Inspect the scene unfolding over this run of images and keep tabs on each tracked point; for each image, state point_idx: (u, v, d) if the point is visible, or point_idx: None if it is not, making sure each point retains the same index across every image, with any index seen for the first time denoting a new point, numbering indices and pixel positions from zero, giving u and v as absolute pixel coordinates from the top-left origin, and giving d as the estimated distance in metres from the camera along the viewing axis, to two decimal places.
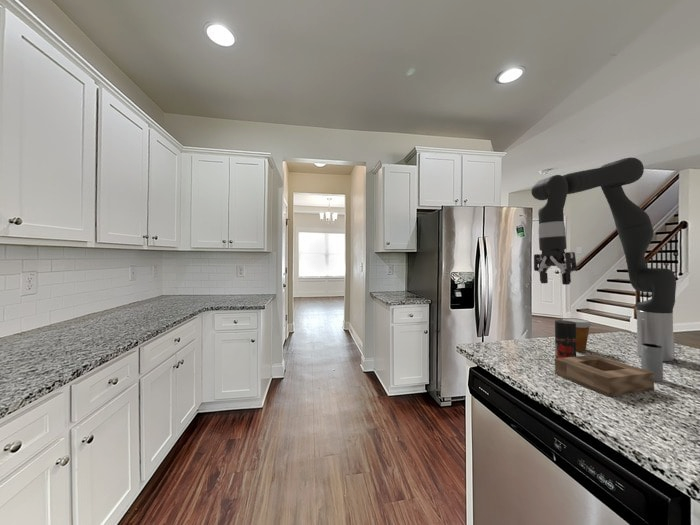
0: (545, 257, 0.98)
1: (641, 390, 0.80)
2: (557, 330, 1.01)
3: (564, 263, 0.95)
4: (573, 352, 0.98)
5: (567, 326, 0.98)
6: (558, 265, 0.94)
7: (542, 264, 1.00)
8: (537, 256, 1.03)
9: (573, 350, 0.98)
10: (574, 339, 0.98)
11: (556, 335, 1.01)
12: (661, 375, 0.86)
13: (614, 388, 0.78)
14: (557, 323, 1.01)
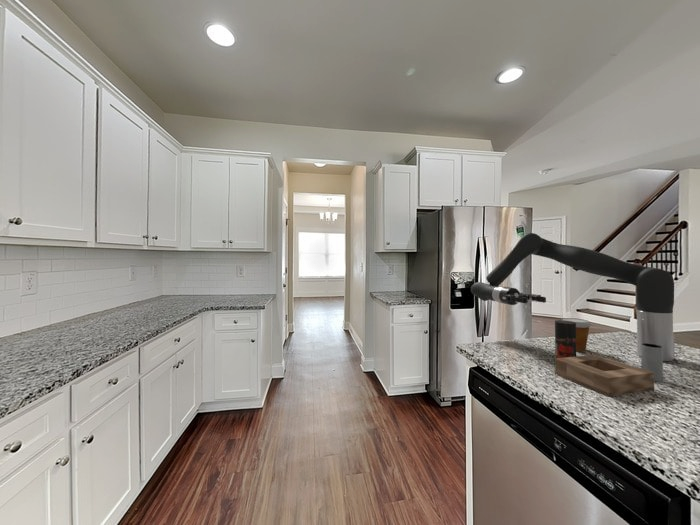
0: None
1: (641, 390, 0.80)
2: (557, 330, 1.01)
3: None
4: (573, 352, 0.98)
5: (567, 326, 0.98)
6: (516, 302, 1.18)
7: (528, 301, 1.20)
8: (528, 298, 1.23)
9: (573, 350, 0.98)
10: (574, 339, 0.98)
11: (556, 335, 1.01)
12: (661, 375, 0.86)
13: (614, 388, 0.78)
14: (557, 323, 1.01)
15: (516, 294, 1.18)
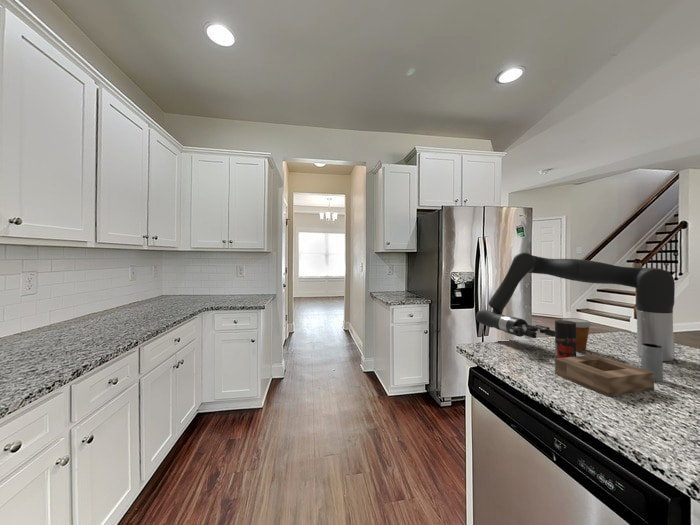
0: None
1: (641, 390, 0.80)
2: (557, 330, 1.01)
3: None
4: (573, 352, 0.98)
5: (567, 326, 0.98)
6: None
7: None
8: (536, 330, 1.20)
9: (573, 350, 0.98)
10: (574, 339, 0.98)
11: (556, 335, 1.01)
12: (661, 375, 0.86)
13: (614, 388, 0.78)
14: (557, 323, 1.01)
15: (524, 327, 1.14)
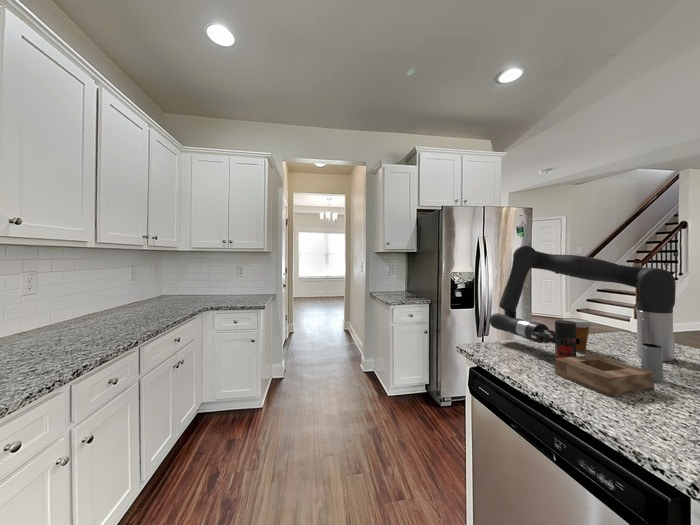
0: None
1: (641, 390, 0.80)
2: (557, 330, 1.01)
3: None
4: (573, 352, 0.98)
5: (567, 326, 0.98)
6: (548, 342, 1.04)
7: None
8: None
9: (573, 350, 0.98)
10: (574, 339, 0.98)
11: (556, 335, 1.01)
12: (661, 375, 0.86)
13: (614, 388, 0.78)
14: (557, 323, 1.01)
15: (548, 333, 1.04)
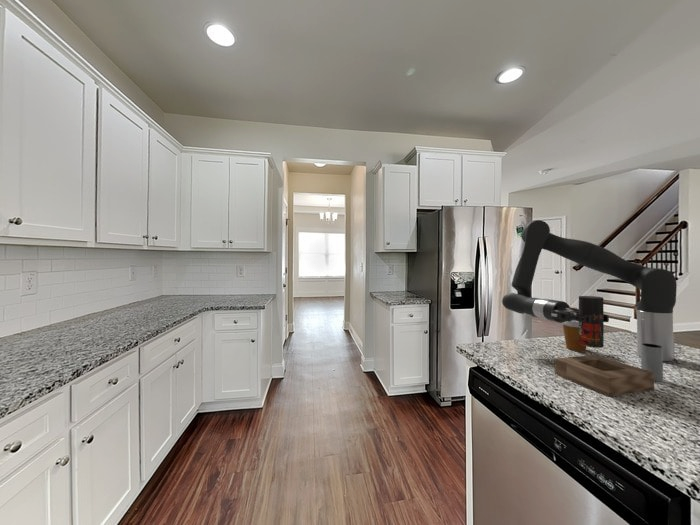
0: None
1: (641, 390, 0.80)
2: (581, 306, 0.90)
3: None
4: (601, 331, 0.87)
5: (593, 300, 0.87)
6: (571, 320, 0.93)
7: None
8: None
9: (600, 328, 0.87)
10: (601, 316, 0.87)
11: (580, 312, 0.90)
12: (661, 375, 0.86)
13: (614, 388, 0.78)
14: (582, 298, 0.89)
15: (571, 310, 0.93)
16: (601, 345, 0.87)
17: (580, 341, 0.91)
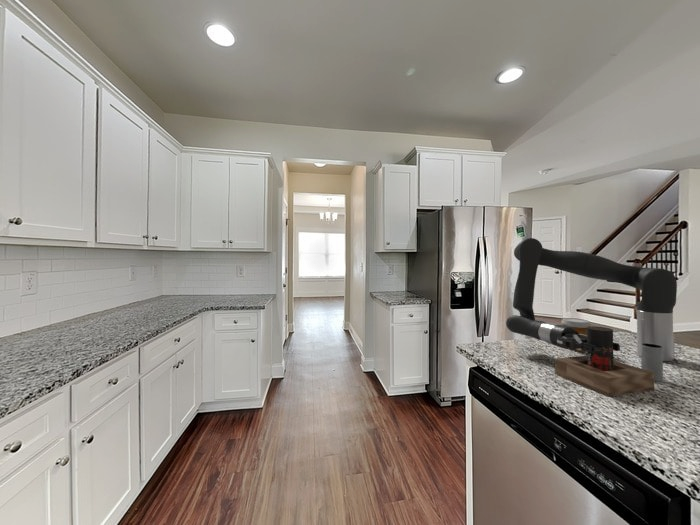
0: None
1: (641, 390, 0.80)
2: (590, 338, 0.87)
3: None
4: (611, 364, 0.84)
5: (603, 333, 0.84)
6: (577, 348, 0.90)
7: None
8: None
9: (610, 362, 0.84)
10: (611, 349, 0.84)
11: None
12: (661, 375, 0.86)
13: (614, 388, 0.78)
14: (590, 330, 0.87)
15: (577, 338, 0.90)
16: None
17: None
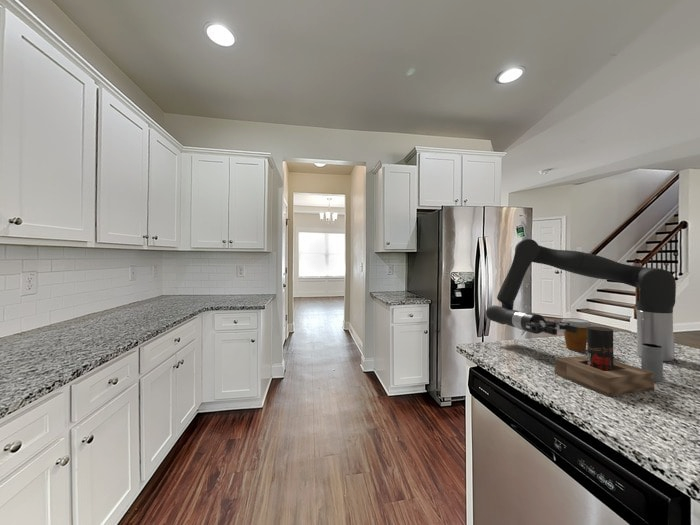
0: None
1: (641, 390, 0.80)
2: (590, 338, 0.87)
3: None
4: (611, 364, 0.84)
5: (603, 333, 0.84)
6: (542, 332, 1.04)
7: None
8: (554, 326, 1.09)
9: (610, 362, 0.84)
10: (611, 349, 0.84)
11: (589, 344, 0.87)
12: (661, 375, 0.86)
13: (614, 388, 0.78)
14: (591, 330, 0.86)
15: (542, 323, 1.04)
16: None
17: None
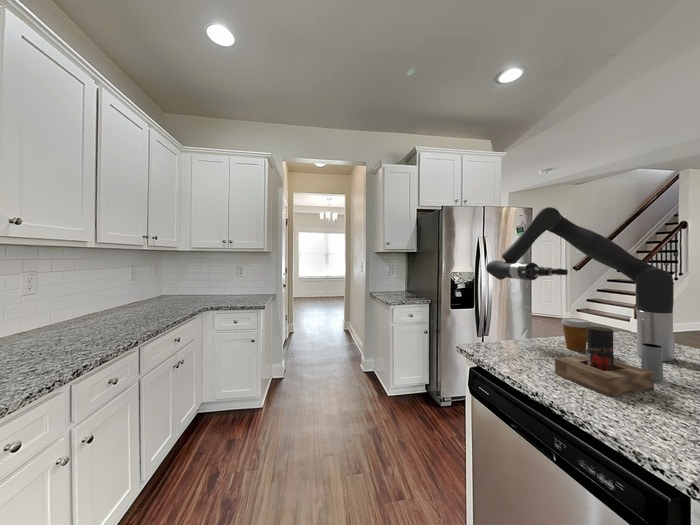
0: None
1: (641, 390, 0.80)
2: (590, 338, 0.87)
3: (536, 268, 1.16)
4: (611, 364, 0.84)
5: (603, 333, 0.84)
6: (536, 276, 1.15)
7: (548, 275, 1.17)
8: None
9: (610, 362, 0.84)
10: (611, 349, 0.84)
11: (589, 344, 0.87)
12: (661, 375, 0.86)
13: (614, 388, 0.78)
14: (591, 330, 0.86)
15: (536, 267, 1.15)
16: None
17: None
